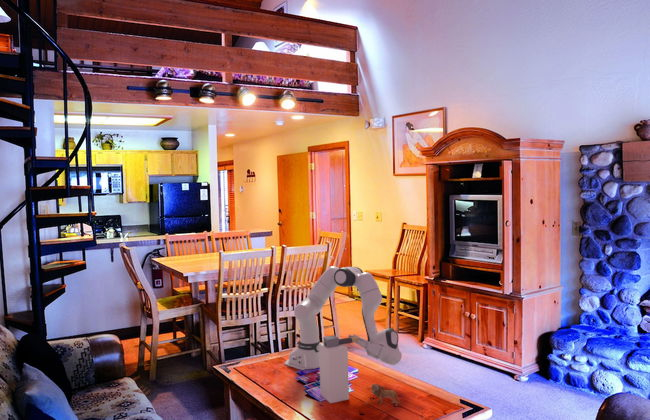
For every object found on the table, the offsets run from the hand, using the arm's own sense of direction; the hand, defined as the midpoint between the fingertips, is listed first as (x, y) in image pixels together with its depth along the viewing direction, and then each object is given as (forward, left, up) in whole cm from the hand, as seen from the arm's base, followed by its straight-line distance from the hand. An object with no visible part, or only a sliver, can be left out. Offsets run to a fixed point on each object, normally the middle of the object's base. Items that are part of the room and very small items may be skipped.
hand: (353, 338), depth 250 cm
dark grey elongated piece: (-4, -5, -1) cm, 6 cm away
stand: (-7, -9, -27) cm, 30 cm away
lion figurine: (+19, -5, -28) cm, 34 cm away
